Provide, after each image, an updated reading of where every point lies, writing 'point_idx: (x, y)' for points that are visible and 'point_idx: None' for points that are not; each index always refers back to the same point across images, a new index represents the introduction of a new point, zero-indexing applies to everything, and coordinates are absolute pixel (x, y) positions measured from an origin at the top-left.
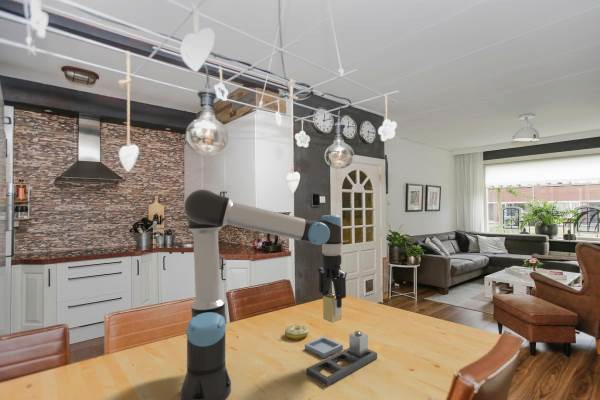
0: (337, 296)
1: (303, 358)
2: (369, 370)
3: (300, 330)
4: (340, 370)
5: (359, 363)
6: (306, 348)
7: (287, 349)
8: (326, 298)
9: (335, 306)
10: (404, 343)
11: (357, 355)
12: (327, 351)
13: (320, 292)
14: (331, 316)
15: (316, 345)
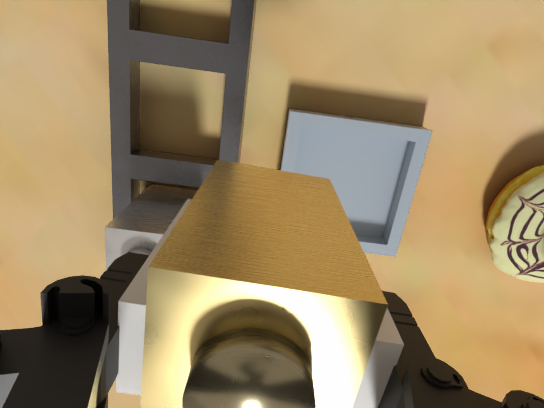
0: (42, 343)
1: (373, 40)
2: (83, 152)
3: (529, 218)
4: (123, 17)
5: (113, 144)
6: (413, 126)
7: (501, 62)
8: (300, 277)
9: (161, 245)
10: (123, 404)
11: (156, 194)
12: (288, 139)
13: (513, 392)
14: (221, 176)
15: (387, 182)
